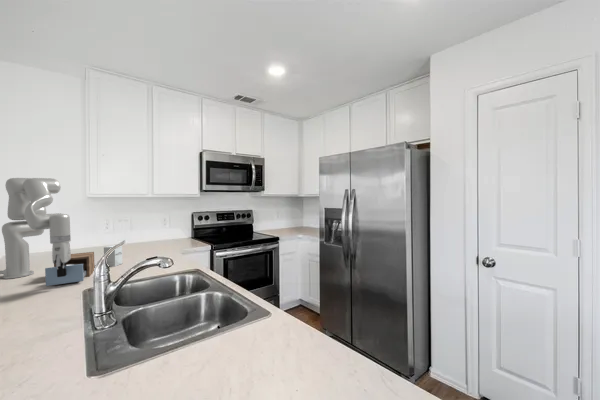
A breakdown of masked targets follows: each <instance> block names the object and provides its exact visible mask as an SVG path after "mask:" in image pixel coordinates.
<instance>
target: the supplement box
mask: <svg viewBox="0 0 600 400" xmlns="http://www.w3.org/2000/svg"><path fill="white" fill-rule="evenodd" d="M115 245H116V244H115ZM115 245H107V246H105V247H103V255H104V254H105V253H106V252H107V251H108V250H109V249H110V248H112V247H113V246H115ZM107 264H108V265H109V266H110V267H112V268H114V267H117V266H121V265H122V264H123V245H122V246H120V247H118V248H116V249H115V250H114V251H113V252H112V253H111V254H110V255H109V256H108V258H107Z"/></svg>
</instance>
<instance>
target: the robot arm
mask: <svg viewBox="0 0 600 400" xmlns="http://www.w3.org/2000/svg"><path fill="white" fill-rule="evenodd" d="M5 191H6V193H7V195H8V205H7V218H8V219H9V220H12V221H9V222H5V223H4V224H3V225H2V226H1V233H2V237H3V242H4V251H5V252H4V253H5V269H3V270H0V275H2V276H1V278H2V279H4V280H6V279H7V280H8V279H9V280H10V279H17V278H24V277H29V276H31V275H34V273H35V272H34V270H31V268H30V267H31V266H30V264H31V263H30V244H29V242H28V241H26V240H25V239H23V238H29V237H35V236H36V237H37V236H40V235H42V234H43V233H44V232H45V230H49V243H50V244H51V245H52V248H51V249H52V251H51V252H52V253H51V254H52V255H51V256H52V257H51V258H52V263H53V265H54V264H56V267H57V277H64V276H66V275H67V271H66V268H65V267H66V262H68V261H69V260H70V259H71V254H72V253H71V245H70V243H71V241H72V240H71V238H72V237H71V218H70V217H71V216H70V215H69V214H66V213H60V212H59V213H56V212H55V213H47V209H46V207H48V206H50V205H51V204H52V203H53V201H54V198H53V196H52V194H53V195H54V194H56V195H57V194H58V193H59V192H60V191H61V184H60V182H59V181H58V180H57V179H55V178H46V177H45V178H44V177H10V178H9V179H7V180H5Z"/></svg>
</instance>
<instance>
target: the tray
mask: <svg viewBox="0 0 600 400" xmlns="http://www.w3.org/2000/svg"><path fill="white" fill-rule="evenodd" d="M65 268H66V271H67V275H66V276H64V277H57V267H54V266H53V267H52V266H51V267H45V269H44V271H45V272H44V274H45V286H46V287H48V286H55V285H62V284H63V285H64V284H70V283H71V284H72V283H76V282H83V281H84V278H86V277H85V276H86V274H87V272H86V270H85V271H83V264H77V265H68V266H66V267H65Z"/></svg>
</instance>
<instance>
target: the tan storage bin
mask: <svg viewBox="0 0 600 400" xmlns="http://www.w3.org/2000/svg"><path fill="white" fill-rule="evenodd" d="M69 264H74V265H77V264H83V271H85V270H86V272H87V274H86V276H85V277H84V278H89V277H90V276H91V275H92V274H93V273H94V272H95V271H94V268H95V252H94V251H89V252H79V253H71V259H70V260H69V261H68V262H66V265H69ZM53 267H56V264H54V263H53ZM93 271H94V272H93Z"/></svg>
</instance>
